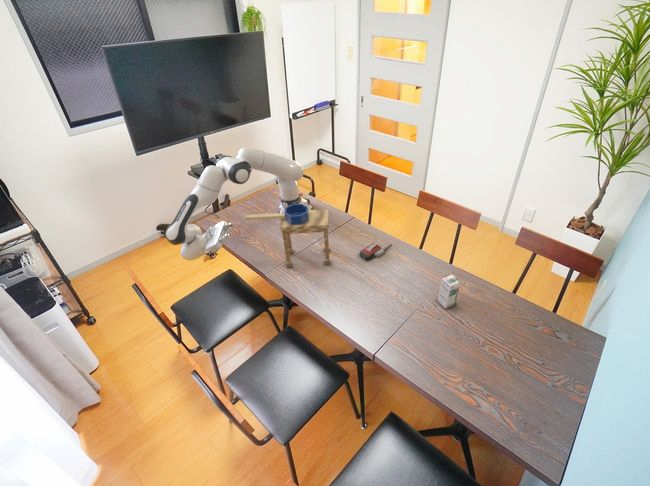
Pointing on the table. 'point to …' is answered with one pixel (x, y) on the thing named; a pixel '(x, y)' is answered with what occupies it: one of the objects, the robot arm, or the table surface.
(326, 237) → the stand
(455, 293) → the syrup box
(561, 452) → the table surface
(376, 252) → the walkie-talkie
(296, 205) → the blue saucepan
